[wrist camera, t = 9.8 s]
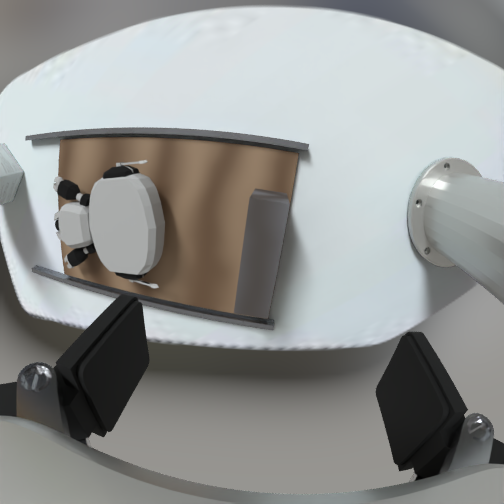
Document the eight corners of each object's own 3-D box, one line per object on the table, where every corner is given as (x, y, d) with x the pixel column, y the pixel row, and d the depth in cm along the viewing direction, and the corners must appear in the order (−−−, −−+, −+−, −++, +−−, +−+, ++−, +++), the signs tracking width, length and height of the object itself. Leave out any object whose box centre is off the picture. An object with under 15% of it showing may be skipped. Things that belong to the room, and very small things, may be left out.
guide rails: (307, 144, 24) (308, 144, 23) (273, 324, 31) (272, 330, 30) (31, 135, 25) (25, 136, 24) (37, 268, 32) (32, 271, 31)
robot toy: (80, 263, 31) (177, 273, 29) (58, 276, 27) (159, 293, 25) (68, 170, 27) (170, 157, 25) (42, 175, 23) (147, 159, 21)
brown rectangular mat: (298, 153, 25) (305, 152, 19) (268, 316, 31) (265, 353, 25) (62, 139, 26) (26, 141, 19) (66, 272, 32) (37, 293, 26)
